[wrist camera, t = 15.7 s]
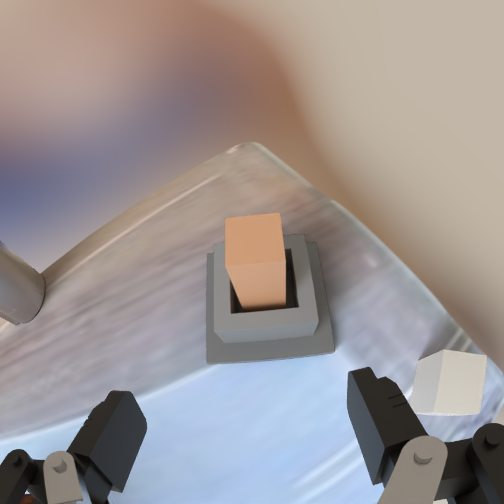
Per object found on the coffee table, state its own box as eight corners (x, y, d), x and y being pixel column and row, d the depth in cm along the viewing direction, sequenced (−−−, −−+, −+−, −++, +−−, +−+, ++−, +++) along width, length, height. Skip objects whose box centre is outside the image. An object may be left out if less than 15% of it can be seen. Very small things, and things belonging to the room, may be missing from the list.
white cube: (406, 413, 22) (432, 412, 17) (417, 360, 25) (443, 349, 20) (449, 416, 21) (479, 413, 16) (458, 366, 24) (487, 355, 18)
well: (333, 353, 27) (344, 340, 22) (209, 364, 28) (191, 354, 23) (315, 246, 34) (319, 216, 29) (209, 257, 34) (196, 229, 29)
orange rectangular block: (285, 316, 29) (285, 260, 18) (247, 319, 29) (225, 266, 19) (282, 281, 31) (279, 212, 20) (245, 284, 31) (225, 218, 21)
